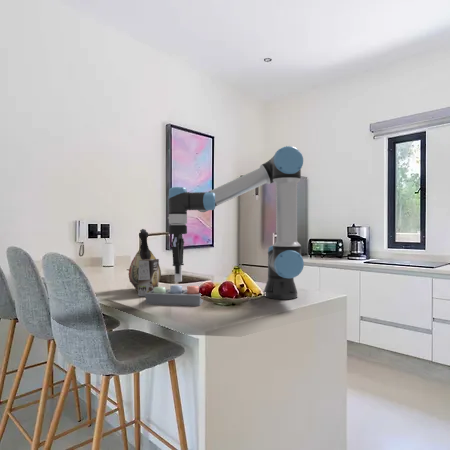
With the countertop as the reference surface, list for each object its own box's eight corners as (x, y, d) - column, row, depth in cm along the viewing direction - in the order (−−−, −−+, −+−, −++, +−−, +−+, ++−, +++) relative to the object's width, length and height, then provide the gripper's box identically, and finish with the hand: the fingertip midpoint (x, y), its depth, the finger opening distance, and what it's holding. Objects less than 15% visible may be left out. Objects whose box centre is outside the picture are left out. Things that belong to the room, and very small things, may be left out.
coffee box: (151, 296, 156) (151, 260, 157) (137, 296, 158) (138, 260, 158) (158, 293, 165) (159, 258, 165) (145, 292, 167) (146, 258, 167)
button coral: (199, 295, 148) (199, 285, 148) (197, 297, 144) (197, 287, 144) (188, 295, 149) (188, 285, 149) (185, 297, 144) (186, 287, 144)
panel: (204, 299, 152) (204, 290, 152) (199, 305, 140) (199, 295, 140) (154, 298, 154) (154, 288, 154) (145, 303, 142) (145, 293, 142)
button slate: (183, 294, 149) (183, 285, 149) (180, 297, 144) (180, 287, 144) (171, 294, 150) (172, 285, 150) (169, 296, 145) (169, 286, 145)
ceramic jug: (128, 288, 178) (129, 228, 179) (159, 287, 182) (160, 229, 182) (127, 294, 162) (128, 228, 162) (162, 293, 165) (162, 229, 166)
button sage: (166, 296, 150) (166, 286, 150) (163, 298, 145) (163, 288, 145) (155, 295, 150) (155, 286, 150) (152, 298, 145) (152, 288, 145)
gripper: (173, 224, 154) (173, 279, 154) (164, 224, 141) (165, 283, 141) (189, 224, 153) (190, 279, 153) (183, 224, 140) (183, 283, 140)
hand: (178, 281), depth 147 cm, fingers closed
